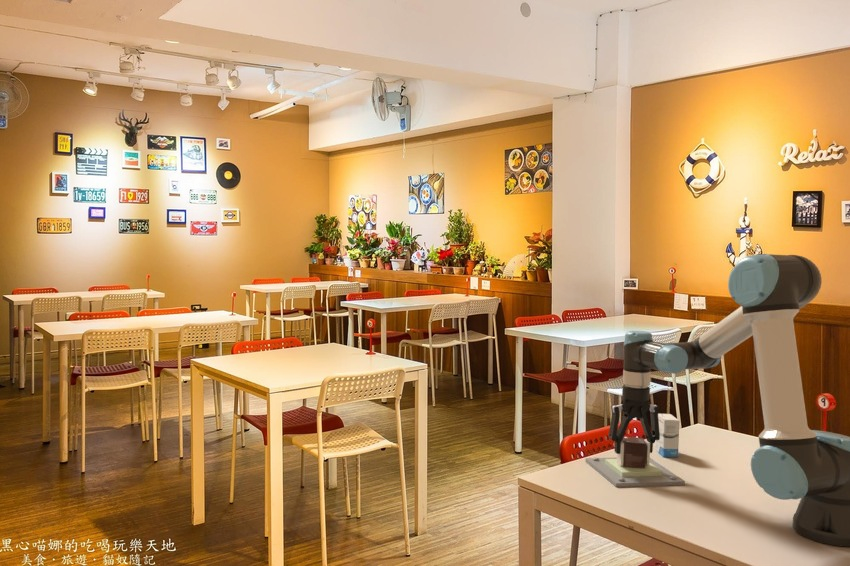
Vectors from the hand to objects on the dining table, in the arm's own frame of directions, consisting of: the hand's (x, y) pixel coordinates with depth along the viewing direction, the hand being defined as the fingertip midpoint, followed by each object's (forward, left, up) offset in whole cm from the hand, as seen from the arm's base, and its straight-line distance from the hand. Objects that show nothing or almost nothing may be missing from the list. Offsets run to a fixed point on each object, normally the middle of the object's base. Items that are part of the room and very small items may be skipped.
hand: (633, 464), depth 203 cm
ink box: (+17, -19, -3) cm, 26 cm away
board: (0, 0, -2) cm, 2 cm away
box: (0, 0, 0) cm, 0 cm away
